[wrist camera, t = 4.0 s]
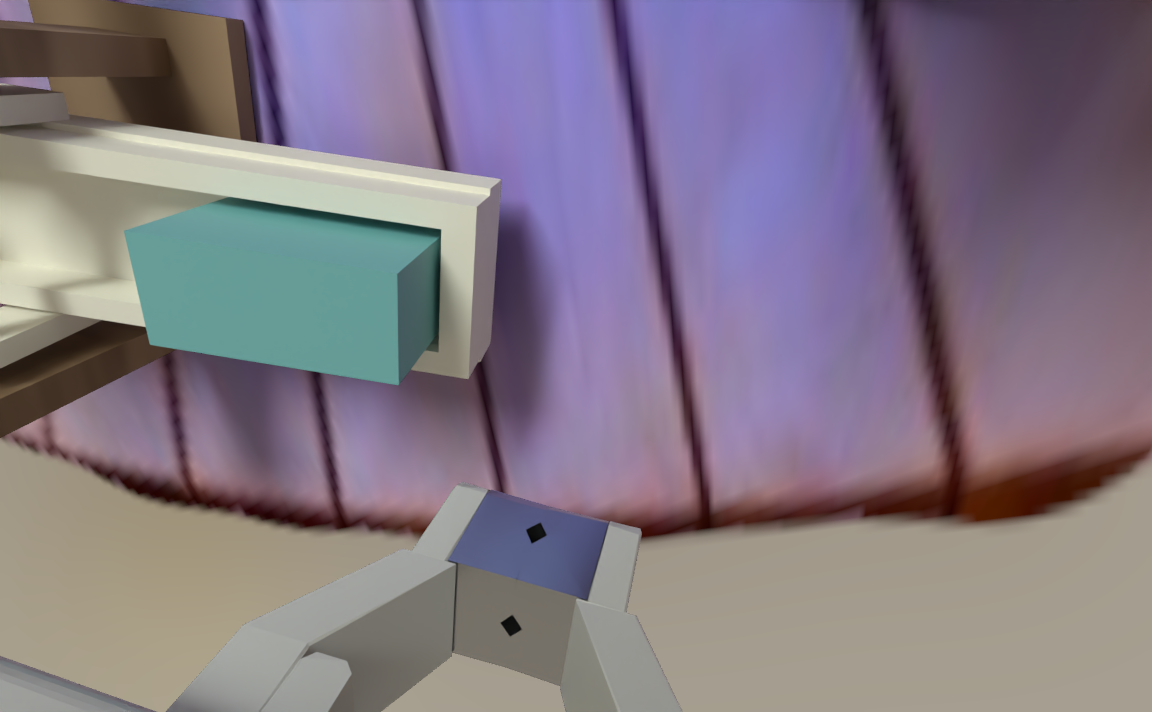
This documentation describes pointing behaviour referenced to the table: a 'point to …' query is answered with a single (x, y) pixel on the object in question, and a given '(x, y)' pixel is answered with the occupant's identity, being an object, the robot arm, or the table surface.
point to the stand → (131, 95)
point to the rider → (290, 287)
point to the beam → (188, 180)
